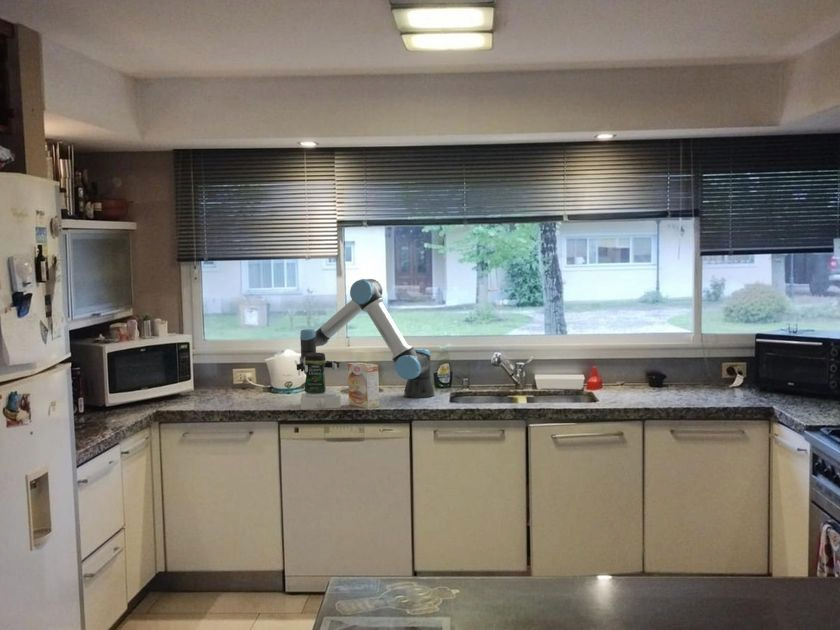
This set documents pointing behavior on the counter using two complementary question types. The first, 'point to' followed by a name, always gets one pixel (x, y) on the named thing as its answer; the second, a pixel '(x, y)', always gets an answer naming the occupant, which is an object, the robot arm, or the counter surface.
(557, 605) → the counter surface
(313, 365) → the coffee jar
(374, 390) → the coffeecake box
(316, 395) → the clear plastic food container
